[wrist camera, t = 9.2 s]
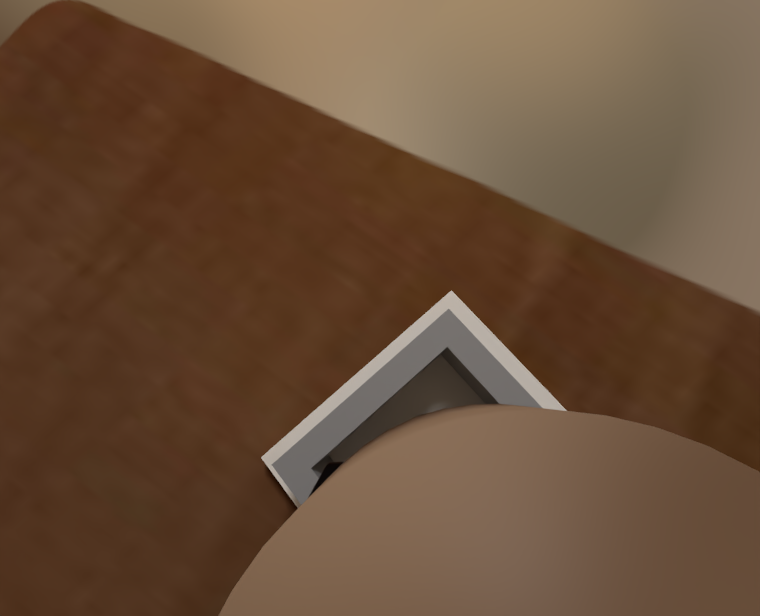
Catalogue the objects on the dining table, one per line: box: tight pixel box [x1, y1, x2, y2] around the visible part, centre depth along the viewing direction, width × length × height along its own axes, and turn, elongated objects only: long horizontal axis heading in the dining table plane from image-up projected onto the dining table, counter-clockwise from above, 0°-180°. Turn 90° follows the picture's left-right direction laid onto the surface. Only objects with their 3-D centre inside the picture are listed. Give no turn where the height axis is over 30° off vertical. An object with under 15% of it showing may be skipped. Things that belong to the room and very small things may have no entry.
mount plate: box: [261, 290, 566, 508], centre depth 15 cm, size 10×11×4 cm
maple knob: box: [219, 404, 760, 616], centre depth 9 cm, size 6×6×13 cm
